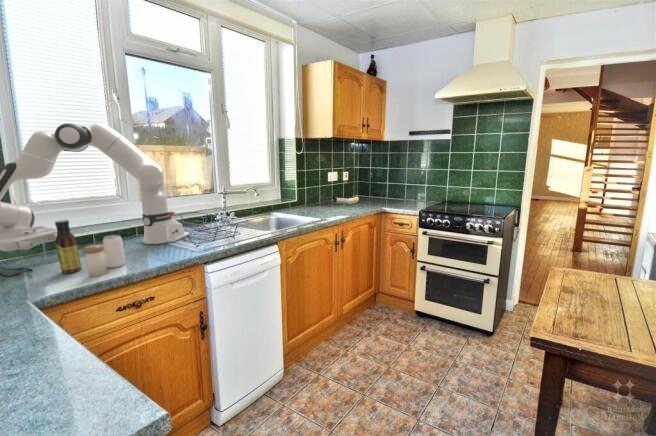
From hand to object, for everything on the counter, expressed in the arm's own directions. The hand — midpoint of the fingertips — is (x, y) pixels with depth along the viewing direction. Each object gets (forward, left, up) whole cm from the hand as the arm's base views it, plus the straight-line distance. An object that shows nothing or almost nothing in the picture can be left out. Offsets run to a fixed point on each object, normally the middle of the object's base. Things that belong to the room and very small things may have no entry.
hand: (45, 241), depth 132 cm
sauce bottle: (0, +12, -11) cm, 17 cm away
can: (-10, +23, -11) cm, 28 cm away
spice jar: (-1, +25, -11) cm, 27 cm away
